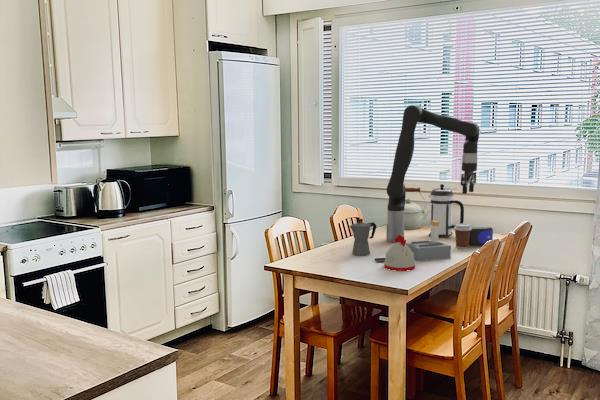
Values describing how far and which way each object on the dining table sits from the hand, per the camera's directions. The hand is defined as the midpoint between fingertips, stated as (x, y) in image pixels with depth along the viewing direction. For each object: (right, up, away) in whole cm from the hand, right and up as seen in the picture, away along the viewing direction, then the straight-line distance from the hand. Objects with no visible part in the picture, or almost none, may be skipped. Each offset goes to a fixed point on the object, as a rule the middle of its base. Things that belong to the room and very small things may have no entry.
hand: (467, 192), depth 298 cm
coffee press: (-5, -25, +33) cm, 42 cm away
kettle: (-18, -21, +60) cm, 66 cm away
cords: (-43, -33, -23) cm, 59 cm away
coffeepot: (-56, -31, -8) cm, 64 cm away
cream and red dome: (-42, -35, -35) cm, 65 cm away
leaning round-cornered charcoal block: (+8, -28, +9) cm, 31 cm away
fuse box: (-25, -31, -15) cm, 43 cm away
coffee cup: (-2, -29, +4) cm, 29 cm away
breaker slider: (-21, -25, -14) cm, 36 cm away
